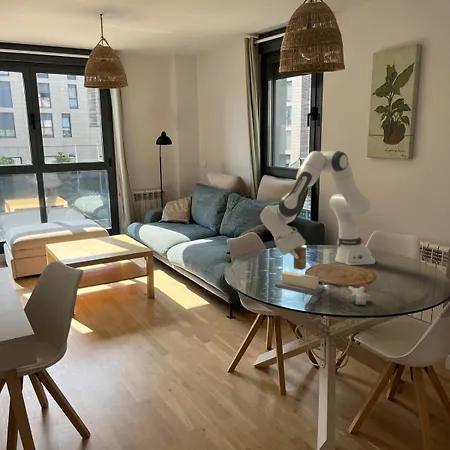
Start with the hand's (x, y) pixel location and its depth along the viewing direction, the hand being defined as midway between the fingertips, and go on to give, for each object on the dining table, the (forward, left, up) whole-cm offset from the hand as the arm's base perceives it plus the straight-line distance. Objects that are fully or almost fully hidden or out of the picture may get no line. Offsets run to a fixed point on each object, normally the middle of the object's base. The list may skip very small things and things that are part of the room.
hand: (301, 256), depth 215 cm
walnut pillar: (+1, 0, -6) cm, 6 cm away
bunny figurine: (-25, +14, -16) cm, 33 cm away
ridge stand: (0, 0, -16) cm, 16 cm away
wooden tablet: (-28, -9, -17) cm, 34 cm away
